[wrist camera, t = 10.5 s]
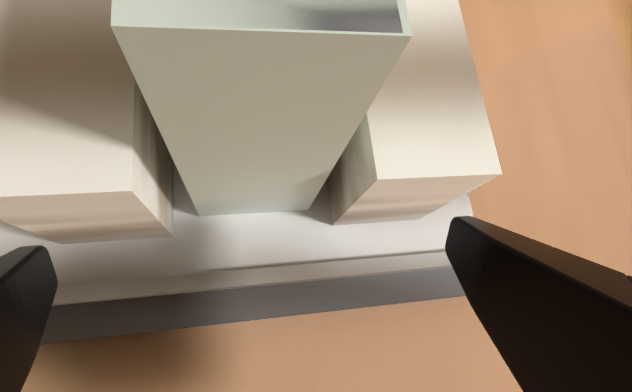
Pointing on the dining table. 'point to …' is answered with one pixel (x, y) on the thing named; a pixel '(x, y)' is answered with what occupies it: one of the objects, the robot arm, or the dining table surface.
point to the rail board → (226, 230)
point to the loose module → (259, 89)
